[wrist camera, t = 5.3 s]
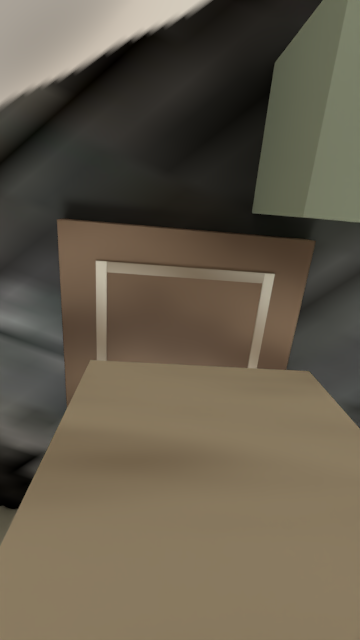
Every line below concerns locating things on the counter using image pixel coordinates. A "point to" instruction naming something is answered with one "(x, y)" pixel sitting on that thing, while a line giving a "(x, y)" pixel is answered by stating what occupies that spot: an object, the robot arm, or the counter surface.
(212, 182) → the counter surface
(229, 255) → the walnut board
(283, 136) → the sage block
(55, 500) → the beech block
